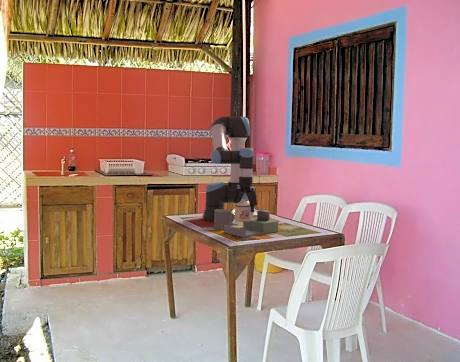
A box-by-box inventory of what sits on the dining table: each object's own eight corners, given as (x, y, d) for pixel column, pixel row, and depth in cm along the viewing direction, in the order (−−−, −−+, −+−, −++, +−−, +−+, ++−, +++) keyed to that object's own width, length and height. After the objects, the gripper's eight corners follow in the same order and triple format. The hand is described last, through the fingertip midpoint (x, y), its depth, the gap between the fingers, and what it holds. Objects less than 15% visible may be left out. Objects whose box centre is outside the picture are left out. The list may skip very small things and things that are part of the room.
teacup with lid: (240, 222, 299) (240, 201, 298) (231, 219, 306) (231, 199, 305) (258, 220, 305) (259, 199, 304) (249, 218, 313) (249, 197, 312)
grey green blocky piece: (223, 232, 307) (224, 212, 306) (257, 227, 325) (258, 208, 324) (244, 237, 295) (244, 217, 294) (277, 231, 314) (278, 212, 313)
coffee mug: (219, 229, 315) (219, 212, 314) (210, 226, 323) (211, 209, 322) (239, 227, 322) (239, 210, 321) (230, 225, 330) (231, 208, 329)
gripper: (227, 174, 309) (226, 214, 311) (255, 178, 293) (253, 220, 295) (237, 174, 314) (236, 213, 316) (264, 177, 298) (263, 218, 300)
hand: (244, 216), depth 306 cm, fingers closed on teacup with lid, 9 cm apart
